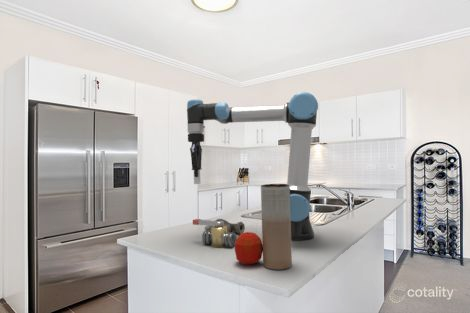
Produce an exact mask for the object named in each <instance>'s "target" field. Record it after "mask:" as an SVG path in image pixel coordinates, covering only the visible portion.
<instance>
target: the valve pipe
mask: <svg viewBox="0 0 470 313" xmlns="http://www.w3.org/2000/svg"><path fill="white" fill-rule="evenodd" d="M237 237H238V236H237V233H236V232H232V233H231V232H227V226H223V227H214V226H212V227H211V230H205V229H204V231H203V233H202V237H201V242H202V243H203V244H204V245H211V247H212V248H215V249H218V248H219V249H221V248H226V247H227V248H235V241H236V239H237Z"/></svg>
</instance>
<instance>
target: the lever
mask: <svg viewBox="0 0 470 313" xmlns="http://www.w3.org/2000/svg"><path fill="white" fill-rule="evenodd" d="M192 225H193V226H194V225H195V226H199V225H201V226H214V227H223V226H224V222H223V221H215V220H207V219H201V218H195V219H192Z"/></svg>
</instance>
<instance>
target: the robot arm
mask: <svg viewBox="0 0 470 313" xmlns="http://www.w3.org/2000/svg"><path fill="white" fill-rule="evenodd" d="M186 106H187V107H186V113H187V114H186V115H187V118H186V119H187V133H188V134H187V142H189V143H191V146H190V147H189V152H190V157H191V158H190V160H191V171H193V185H200V184H201V171H202V170H203V168H202V154H203V149H202V146H201V143H203V142H204V141H205V134H204V132H205V127H206V126H205V122H204V121H216V122H219V124H223V125H226V124H229V123H231V124H233V123H255V122H256V123H257V122H285V124H287V123H288V124H287V125H288V126H289V128H290V129H291V130H290V131H291V132H290V144H289V154H288V155H289V156H288V167H287V168H288V169H287V180H286V181H287V182H286V184H288V185H289V187H290V219H291V241H307V240H311V239H314V238H315V233H314V232H315V231H314V229H313V226H312V223H311V221H310V213H311V192H312V189H311V188H310V187H309V186H308V185H309V184H308V183H309V172H310V158H311V148H312V147H311V144H312V131H313V129H314V128H315V127H316V126H317V113H318V109H319V103H318V100H317V99H316V97H315V96H314V95H313V94H312V93H310V92H306V91H300V92H297V93H296V94H294V95H293V96H292V97H291V99H290V100H289V102H285V103H284V104H280V105H279V104H276V105H275V104H274V105H256V106H255V105H253V106H236V107H235V106H234V107H229V105H228V103H227V102H221V101H220V102H213V103H212V102H211V103H204V101H203V100H202V99H190V100H187V103H186Z"/></svg>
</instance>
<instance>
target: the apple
mask: <svg viewBox="0 0 470 313" xmlns="http://www.w3.org/2000/svg"><path fill="white" fill-rule="evenodd" d="M234 254H235V258H236V260H237V261H238V262H239V263H241V264H243V265H245V266H247V265H248V266H249V265H254V264H256V263H257V262H259V261H260V260H261V259H262V258H263V242H262V239H261V238H260V236H259V235H258V234H256V233H255V232H252V231H251V232H250V231H247V232H246V231H244V232H243V233H242V234H238V236H237V239H236V241H235V247H234Z"/></svg>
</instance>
